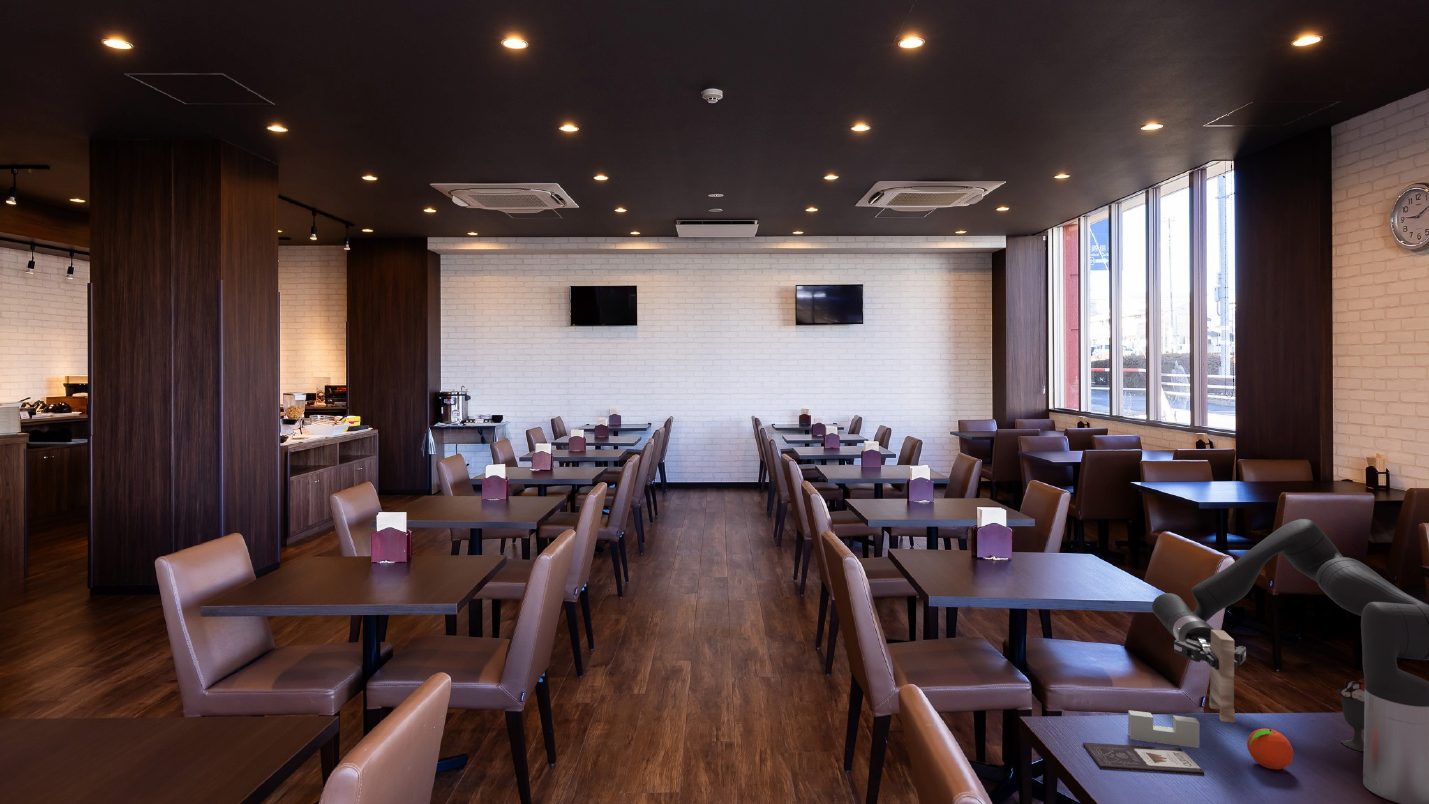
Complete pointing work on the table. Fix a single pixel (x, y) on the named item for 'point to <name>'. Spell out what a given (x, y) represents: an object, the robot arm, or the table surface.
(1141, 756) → the chocolate bar
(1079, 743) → the table surface
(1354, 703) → the sundae
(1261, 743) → the clementine
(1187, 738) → the slotted rail
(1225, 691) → the tapered block
